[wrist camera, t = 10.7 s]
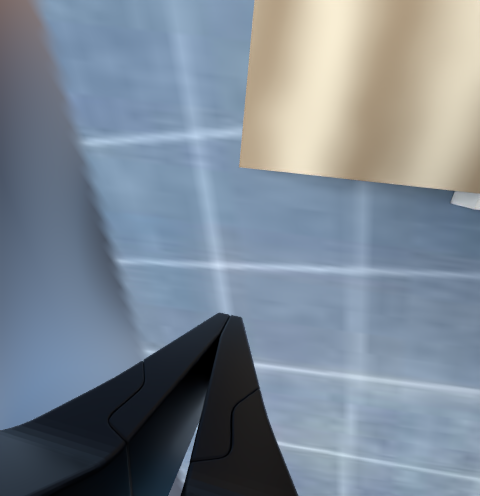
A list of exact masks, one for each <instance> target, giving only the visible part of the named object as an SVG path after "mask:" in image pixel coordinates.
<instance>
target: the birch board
mask: <svg viewBox="0 0 480 496" xmlns="http://www.w3.org/2000/svg"><path fill="white" fill-rule="evenodd" d="M239 167H243V168H252V169H261V170H270V171H280V172H289V173H298V174H307V175H316V176H325V177H334V178H343V179H352V180H361V181H370V182H379V183H388V184H397V185H406V186H416V187H425V188H434V189H443V190H452V191H461V192H470V193H479V194H480V0H255V2H254V12H253V23H252V34H251V45H250V56H249V67H248V78H247V88H246V99H245V110H244V121H243V132H242V143H241V154H240V164H239Z"/></svg>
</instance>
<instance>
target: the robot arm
mask: <svg viewBox="0 0 480 496" xmlns="http://www.w3.org/2000/svg"><path fill="white" fill-rule="evenodd" d="M199 420H200V421H199ZM198 423H199V425H198ZM197 425H198V430H197V434H196V438H195V442H194V446H193V450H192V455H191V459H190V464H189V467H188V471H187V475H186V479H185V483H184V486H183V490H182V493H181V496H298V494H297V491H296V489H295V486H294V484H293V481H292V479H291V476H290V474H289V471H288V469H287V466H286V464H285V461H284V459H283V456H282V454H281V451H280V449H279V446H278V444H277V441H276V438H275V436H274V433H273V430H272V427H271V425H270V422H269V419H268V416H267V413H266V409H265V406H264V402H263V398H262V394H261V391H260V387H259V383H258V379H257V375H256V371H255V367H254V363H253V359H252V355H251V351H250V347H249V343H248V339H247V335H246V331H245V327H244V323H243V320H242V318H241V317H238V316H233V315H231V316H230V315H228V314H224V313H217V314H216V315H214V316H213V317H211V318H209V319H208V320H206V321H205V322H203V323H201V324H200V325H198V326H197V327H195V328H193V329H192V330H190V331H189V332H187V333H185V334H184V335H182V336H181V337H179V338H178V339H176V340H174V341H173V342H171V343H170V344H168V345H166V346H165V347H163V348H162V349H160V350H158V351H157V352H155V353H154V354H152V355H150V356H149V357H147V358H146V359H144V360H143V361H141V362H139V363H137V364H136V365H134V366H133V367H131V368H129V369H128V370H126V371H124V372H123V373H121V374H120V375H118V376H116V377H114V378H112V379H111V380H109V381H107V382H105V383H103V384H101V385H100V386H98V387H96V388H94V389H92V390H90V391H88V392H86V393H84V394H82V395H80V396H78V397H76V398H74V399H72V400H71V401H69V402H67V403H65V404H63V405H61V406H59V407H57V408H55V409H53V410H51V411H49V412H48V413H45V414H43V415H41V416H39V417H37V418H36V419H33V420H31V421H29V422H26V423H24V424H21V425H19V426H15V427H12V428H9V429H5V430H0V496H168V495H169V492H170V490H171V487H172V485H173V483H174V480H175V478H176V476H177V473H178V471H179V468H180V466H181V464H182V461H183V459H184V456H185V454H186V452H187V449H188V447H189V444H190V442H191V440H192V437H193V435H194V432H195V430H196V428H197Z"/></svg>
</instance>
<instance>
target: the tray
mask: <svg viewBox="0 0 480 496" xmlns="http://www.w3.org/2000/svg"><path fill="white" fill-rule="evenodd" d="M450 203H452V204H455V205H459V206H463V207H467V208H471V209H476V210H480V194H479V193H470V192H461V191H455V192H454V194H453V197H452V200H451V202H450Z"/></svg>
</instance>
